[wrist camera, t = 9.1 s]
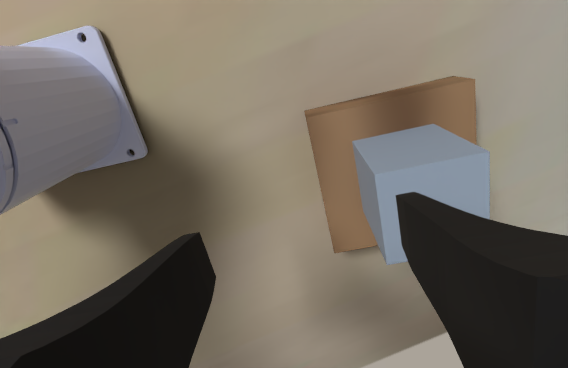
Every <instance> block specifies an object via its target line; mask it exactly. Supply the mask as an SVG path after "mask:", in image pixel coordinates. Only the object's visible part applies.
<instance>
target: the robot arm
mask: <svg viewBox="0 0 568 368" xmlns="http://www.w3.org/2000/svg"><path fill="white" fill-rule="evenodd" d="M83 33H84V34H85V36H86V41H85V42H83V40H82V38H81V35H82V34H83ZM130 149H132V150H133V151H134V153H135V155H132V154H131V153H130V151H129V150H130ZM147 152H148V150H147V147H146V144H145V142H144V139H143V137H142V134H141V132H140V129H139V127H138V124H137V122H136V119H135V117H134V114H133V112H132V109H131V107H130V104H129V102H128V99H127V97H126V94H125V92H124V89H123V87H122V84H121V82H120V79H119V77H118V74H117V72H116V69H115V67H114V65H113V62H112V60H111V57H110V55H109V52H108V50H107V47H106V45H105V42H104V40H103V37H102V35H101V33H100V31H99V30H98V29H97V28H96V27H94V26H84V27H80V28H77V29H73V30H70V31H66V32H63V33H59V34H56V35H52V36H49V37H45V38H42V39H38V40H35V41H31V42H28V43H24V44H21V45H17V46H0V215H1V214H3V213H4V212H6V211H8V210H10V209H12V208H14V207H15V206H17V205H19V204H21V203H23V202H25V201H26V200H28V199H30V198H32V197H34V196H35V195H37V194H39V193H41V192H43V191H45V190H46V189H48V188H50V187H52V186H54V185H56V184H57V183H59V182H61V181H63V180H65V179H67V178H68V177H70V176H72V175H74V174H76V173H79V172H84V171H88V170H92V169H97V168H101V167H106V166H110V165H114V164H119V163H123V162H127V161H132V160H136V159H140V158H143V157H145V156H146V155H147ZM396 203H397V211H398V219H399V227H400V235H401V244H402V247H403V250H404V252H405V255H406V257H407V260H408V262H409V265H410V267H411V269H412V271H413V273H414V274H415V276H416V278H417V280H418V281H419V283H420V285H421V287H422V288H423V290H424V292H425V293H426V295H427V297H428V298H429V300H430V302H431V304H432V305H433V307H434V309H435V310H436V312H437V314H438V315H439V317H440V319H441V321H442V322H443V324H444V326H445V328H446V330H447V332H448V334H449V335H450V338H451V340H452V342H453V344H454V346H455V349H456V351H457V353H458V355H459V357H460V360H461V362H462V364H463V366H464V368H568V236H565V235H559V234H553V233H547V232H541V231H535V230H530V229H525V228H521V227H516V226H512V225H508V224H504V223H500V222H496V221H493V220H489V219H486V218H483V217H480V216H477V215H474V214H471V213H468V212H465V211H462V210H460V209H457V208H454V207H452V206H449V205H447V204H444V203H442V202H439V201H437V200H435V199H432V198H430V197H427V196H425V195H422V194H420V193H417V192H409V193H404V194H399V195H396ZM215 280H216V275H215V273H214V270H213V267H212V265H211V262H210V259H209V257H208V254H207V251H206V249H205V246H204V243H203V241H202V238H201V235H200V233H199V232H198V233H193V234H187V235H183V236H181V237H180V238H178V239H176V240H175V241H173V242H172V243H170V244H169V245H167V246H166V247H164V248H163V249H162V250H160V251H159V252H157V253H156V254H155V255H153V256H152V257H150V258H149V259H148V260H146V261H145V262H143V263H142V264H141V265H139V266H138V267H136V268H135V269H133V270H132V271H130V272H129V273H127V274H126V275H125V276H123V277H122V278H120V279H119V280H117V281H116V282H114V283H112V284H111V285H109V286H108V287H106V288H104V289H103V290H101V291H99V292H98V293H96V294H94V295H92V296H91V297H89V298H87V299H85V300H84V301H82V302H80V303H78V304H76V305H74V306H72V307H70V308H68V309H66V310H64V311H62V312H60V313H58V314H56V315H54V316H52V317H50V318H48V319H46V320H44V321H41V322H39V323H37V324H35V325H32V326H30V327H28V328H26V329H23V330H21V331H18V332H16V333H14V334H11V335H9V336H6V337H4V338H1V339H0V368H189V365H190V362H191V358H192V355H193V352H194V350H195V347H196V344H197V341H198V338H199V336H200V333H201V330H202V327H203V324H204V322H205V319H206V316H207V313H208V310H209V307H210V304H211V301H212V296H213V292H214V286H215Z"/></svg>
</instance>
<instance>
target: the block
mask: <svg viewBox="0 0 568 368" xmlns="http://www.w3.org/2000/svg"><path fill="white" fill-rule="evenodd" d="M352 144H353V150H354V156H355V163H356V169H357V175H358V182H359V188H360V194H361V200H362V207H363V212H364V214H365V216H366V219H367V221H368V223H369V225H370V228H371V230H372V232H373V234H374V237H375V239H376V241H377V244H378V246H379V248H380V250H381V253H382V255H383V257H384V259H385V262H386V264H387V265H390V264H396V263H401V262H407V261H408V260H407V257H406V255H405V252H404V250H403V247H402V244H401V235H400V227H399V219H398V211H397V203H396V195H399V194H404V193H409V192H417V193H420V194H422V195H425V196H427V197H430V198H432V199H435V200H437V201H439V202H442V203H444V204H447V205H449V206H452V207H454V208H457V209H460V210H462V211H465V212H468V213H471V214H474V215H477V216H480V217H483V218H486V219H489V220H490V152H489V151H487V150H485V149H483V148H481V147H479V146H477V145H475V144H473V143H471V142H469V141H467V140H465V139H463V138H461V137H459V136H457V135H455V134H453V133H451V132H449V131H447V130H445V129H443V128H441V127H439V126H437V125H435V124H430V125H425V126H420V127H416V128H411V129H406V130H402V131H397V132H392V133H388V134H383V135H379V136H374V137H369V138H365V139H360V140H355V141H352Z"/></svg>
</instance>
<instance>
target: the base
mask: <svg viewBox="0 0 568 368" xmlns="http://www.w3.org/2000/svg"><path fill="white" fill-rule="evenodd" d="M305 116H306V121H307V125H308V130H309V135H310V140H311V144H312V149H313V154H314V159H315V163H316V168H317V173H318V178H319V182H320V187H321V192H322V197H323V201H324V206H325V211H326V216H327V220H328V225H329V230H330V235H331V239H332V244H333V249H334V253H339V252H344V251H350V250H355V249H361V248H366V247H372V246H377V245H378V244H377V241H376V239H375V237H374V234H373V232H372V230H371V228H370V225H369V223H368V221H367V219H366V216H365V214H364V212H363V207H362V200H361V194H360V188H359V182H358V175H357V169H356V163H355V156H354V150H353V144H352V141H355V140H360V139H365V138H369V137H374V136H379V135H383V134H388V133H392V132H397V131H402V130H406V129H411V128H416V127H420V126H425V125H430V124H435V125H437V126H439V127H441V128H443V129H445V130H447V131H449V132H451V133H453V134H455V135H457V136H459V137H461V138H463V139H465V140H467V141H469V142H471V143H473V144H475V145H476V102H475V79H470V78H463V77H456V76H452V77H447V78H443V79H439V80H435V81H430V82H426V83H422V84H417V85H413V86H409V87H405V88H400V89H396V90H392V91H387V92H383V93H379V94H375V95H370V96H366V97H362V98H357V99H353V100H349V101H345V102H340V103H336V104H332V105H327V106H323V107H319V108H315V109H310V110H306V111H305Z"/></svg>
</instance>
